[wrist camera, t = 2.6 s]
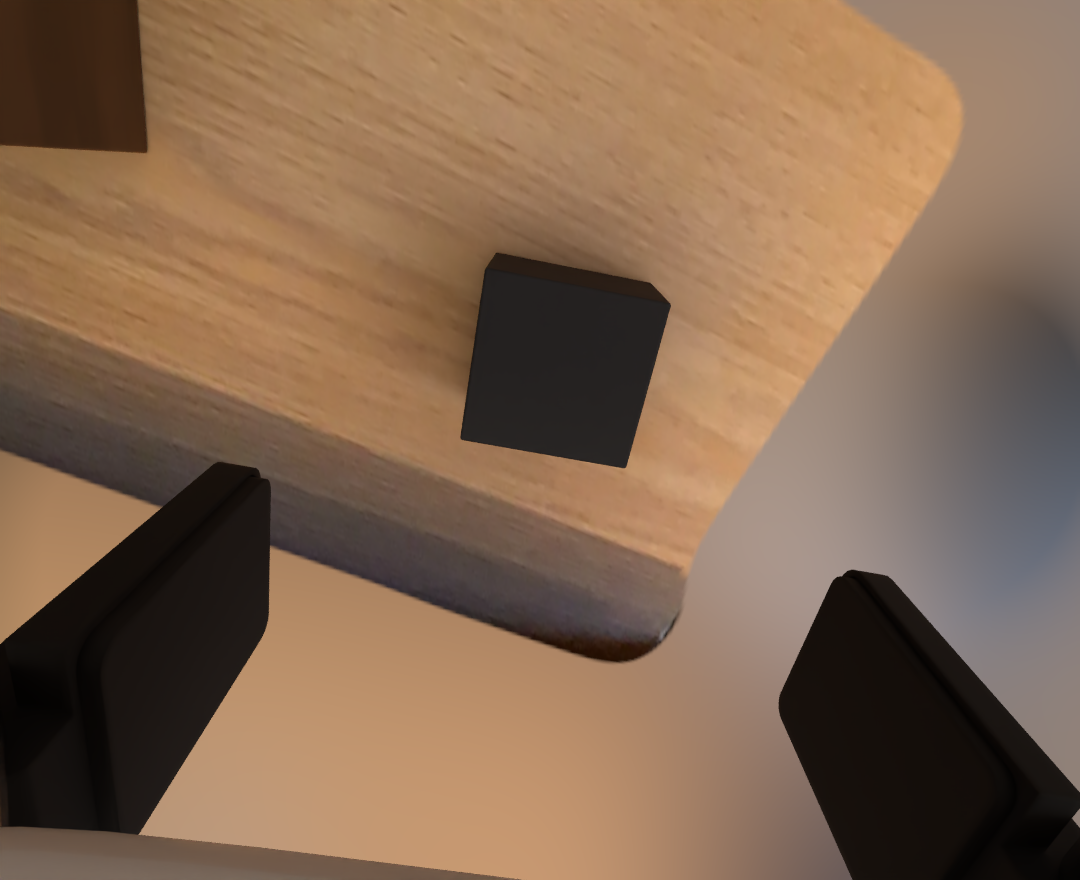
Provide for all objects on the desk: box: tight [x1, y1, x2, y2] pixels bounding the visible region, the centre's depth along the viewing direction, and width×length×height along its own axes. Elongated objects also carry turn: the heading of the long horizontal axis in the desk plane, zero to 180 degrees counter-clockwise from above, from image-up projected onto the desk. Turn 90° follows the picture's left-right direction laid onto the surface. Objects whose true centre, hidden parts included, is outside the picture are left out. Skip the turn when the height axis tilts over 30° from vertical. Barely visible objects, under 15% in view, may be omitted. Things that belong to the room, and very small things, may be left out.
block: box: [460, 253, 671, 468], centre depth 22 cm, size 6×6×4 cm
